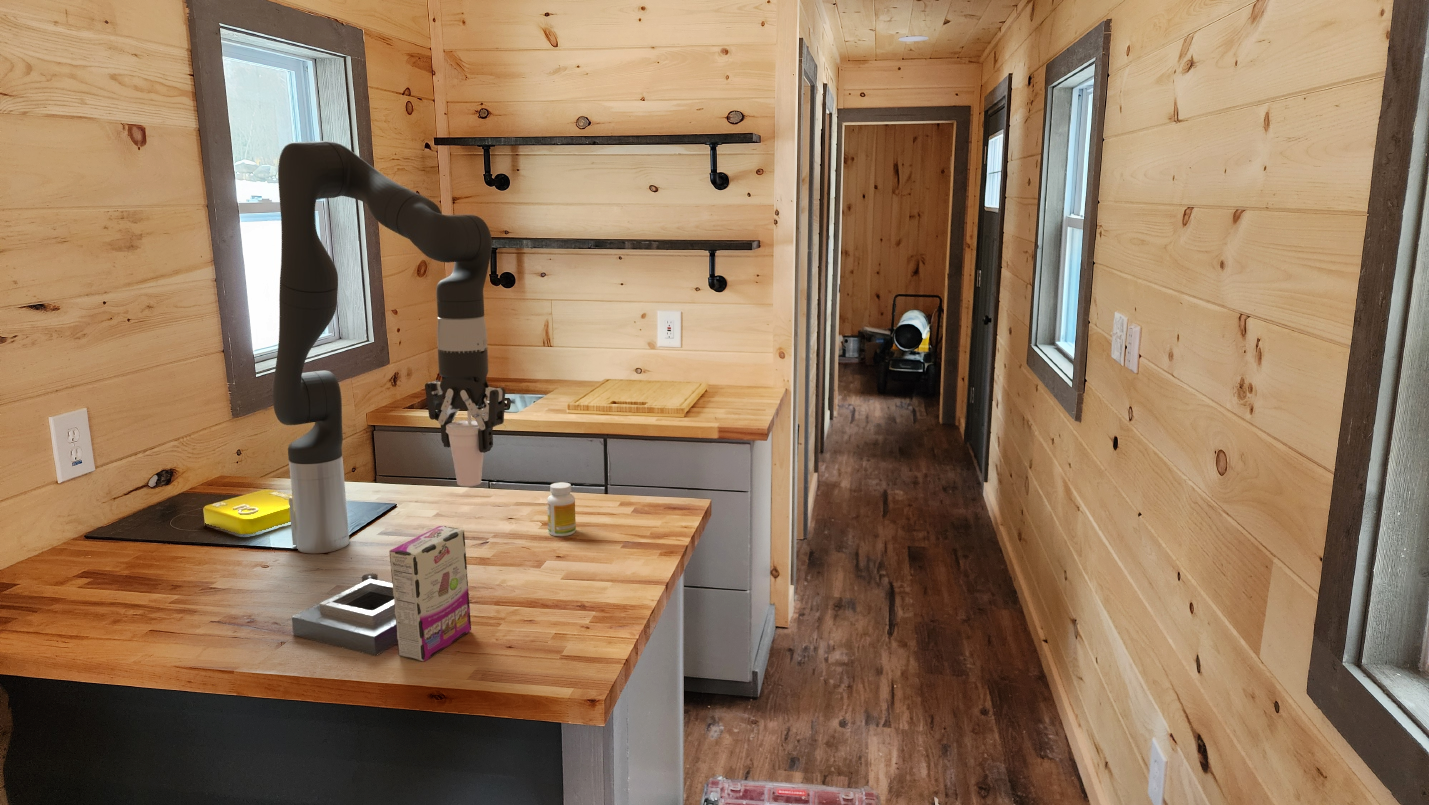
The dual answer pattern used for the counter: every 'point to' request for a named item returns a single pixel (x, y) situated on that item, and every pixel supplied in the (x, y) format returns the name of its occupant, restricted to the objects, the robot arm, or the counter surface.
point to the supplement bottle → (561, 510)
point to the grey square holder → (353, 618)
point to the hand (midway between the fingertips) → (467, 448)
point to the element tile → (249, 512)
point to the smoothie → (466, 451)
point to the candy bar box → (430, 592)
